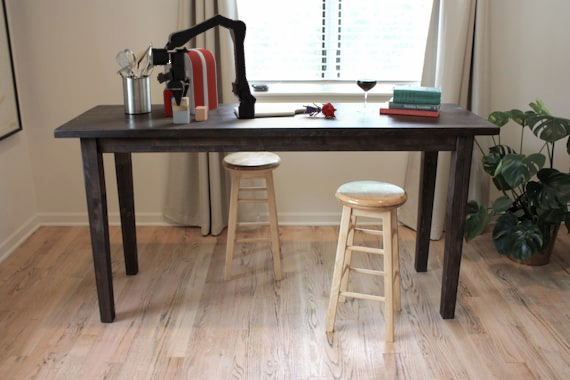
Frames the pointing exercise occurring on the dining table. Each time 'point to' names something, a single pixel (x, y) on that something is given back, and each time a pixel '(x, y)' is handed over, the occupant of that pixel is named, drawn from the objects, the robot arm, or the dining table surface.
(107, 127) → the dining table surface
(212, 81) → the striped red arch
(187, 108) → the maple block
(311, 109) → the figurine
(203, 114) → the terracotta block
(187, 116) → the gray block
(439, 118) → the dining table surface
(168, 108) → the beverage can
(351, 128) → the dining table surface
